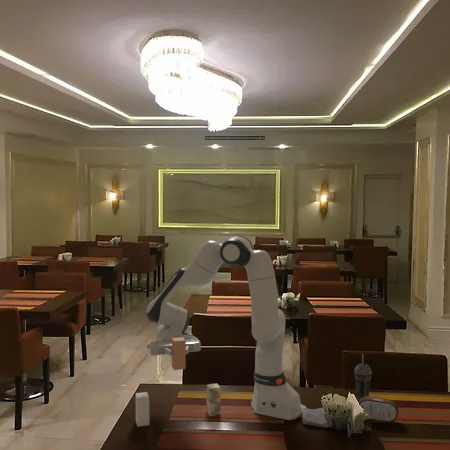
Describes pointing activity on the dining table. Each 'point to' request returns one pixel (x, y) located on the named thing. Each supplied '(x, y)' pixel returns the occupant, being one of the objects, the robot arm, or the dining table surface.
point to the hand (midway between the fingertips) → (179, 352)
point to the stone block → (314, 417)
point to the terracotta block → (179, 353)
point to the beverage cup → (362, 379)
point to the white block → (142, 409)
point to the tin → (380, 408)
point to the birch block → (213, 399)
